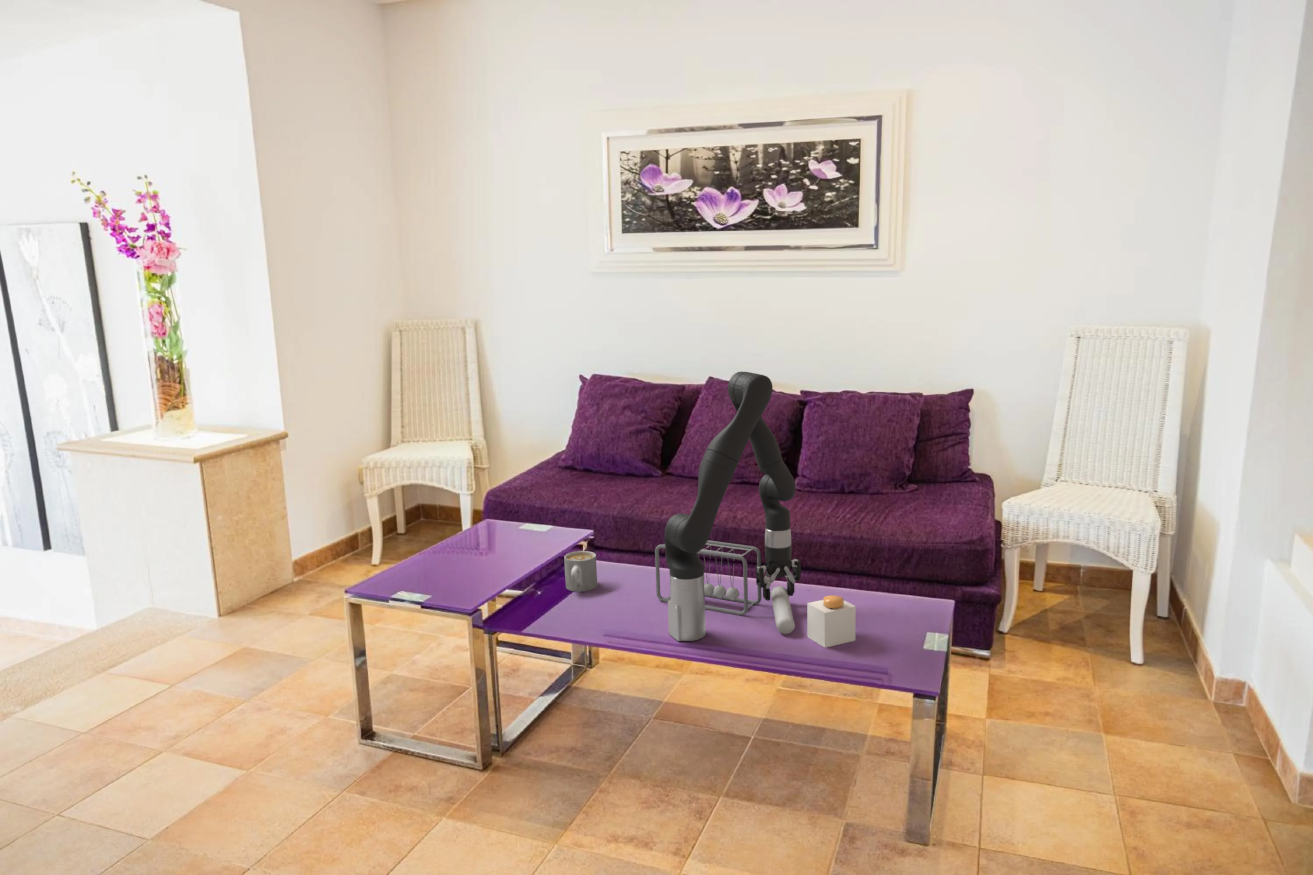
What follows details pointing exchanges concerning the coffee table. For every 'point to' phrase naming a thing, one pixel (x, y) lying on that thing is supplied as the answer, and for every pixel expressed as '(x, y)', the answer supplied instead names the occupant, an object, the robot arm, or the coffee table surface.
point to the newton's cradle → (719, 589)
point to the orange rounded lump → (833, 602)
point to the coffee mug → (580, 571)
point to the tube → (782, 610)
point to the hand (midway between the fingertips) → (778, 597)
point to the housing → (831, 623)
